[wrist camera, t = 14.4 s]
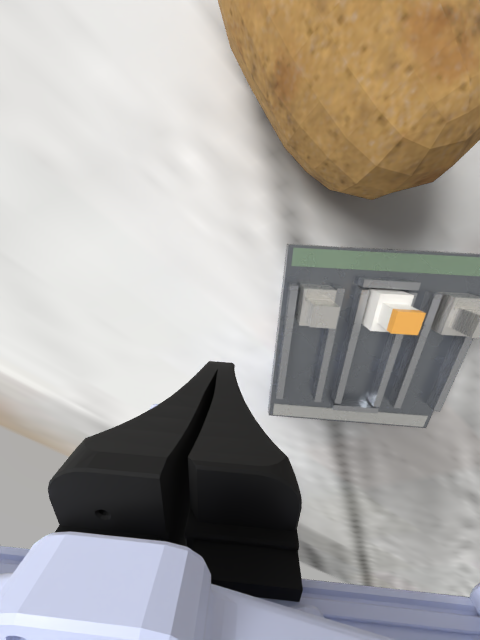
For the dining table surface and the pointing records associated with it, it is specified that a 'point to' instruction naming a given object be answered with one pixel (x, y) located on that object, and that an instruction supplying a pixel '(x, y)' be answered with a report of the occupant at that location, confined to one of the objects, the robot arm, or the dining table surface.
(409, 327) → the breaker
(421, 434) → the dining table surface
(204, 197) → the dining table surface
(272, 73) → the potato
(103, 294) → the dining table surface
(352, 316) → the panel
